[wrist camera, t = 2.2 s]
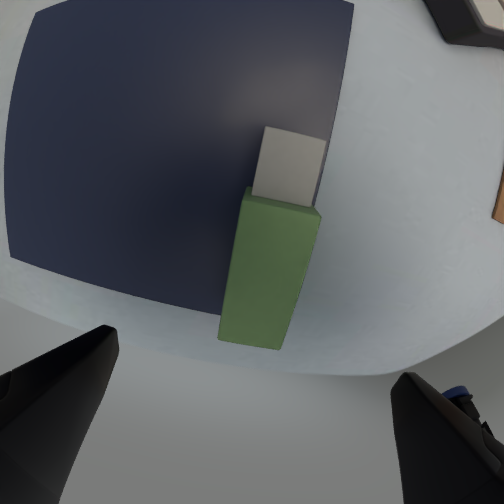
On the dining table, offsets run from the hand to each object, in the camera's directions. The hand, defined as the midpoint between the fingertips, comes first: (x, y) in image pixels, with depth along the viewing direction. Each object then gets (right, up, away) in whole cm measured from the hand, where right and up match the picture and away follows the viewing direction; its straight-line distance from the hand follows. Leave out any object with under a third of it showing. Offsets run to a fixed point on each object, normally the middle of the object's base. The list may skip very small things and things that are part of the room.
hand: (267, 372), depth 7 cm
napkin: (-8, +10, +6) cm, 14 cm away
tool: (+1, +5, +7) cm, 9 cm away
